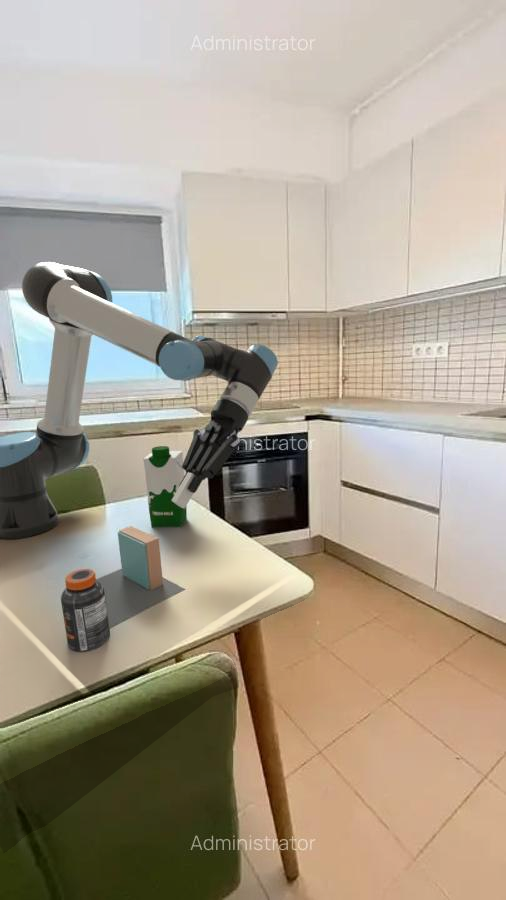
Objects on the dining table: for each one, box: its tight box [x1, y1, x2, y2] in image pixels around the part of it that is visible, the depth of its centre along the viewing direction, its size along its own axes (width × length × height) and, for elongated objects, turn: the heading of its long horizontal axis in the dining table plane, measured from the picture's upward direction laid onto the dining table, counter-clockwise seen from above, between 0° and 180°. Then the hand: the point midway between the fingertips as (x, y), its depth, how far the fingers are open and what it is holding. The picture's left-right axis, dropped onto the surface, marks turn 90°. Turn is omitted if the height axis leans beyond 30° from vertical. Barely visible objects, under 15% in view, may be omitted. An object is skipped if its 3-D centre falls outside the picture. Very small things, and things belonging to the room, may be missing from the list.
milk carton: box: [142, 445, 188, 529], centre depth 109 cm, size 9×9×20 cm
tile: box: [117, 525, 164, 590], centre depth 82 cm, size 9×3×9 cm, turn 47°
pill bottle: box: [60, 568, 111, 653], centre depth 65 cm, size 6×6×11 cm
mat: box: [96, 568, 186, 630], centre depth 79 cm, size 16×15×1 cm
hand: (178, 504), depth 86 cm, fingers closed
